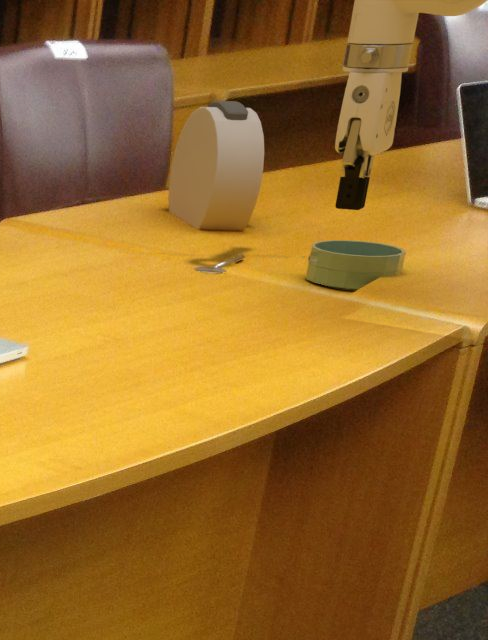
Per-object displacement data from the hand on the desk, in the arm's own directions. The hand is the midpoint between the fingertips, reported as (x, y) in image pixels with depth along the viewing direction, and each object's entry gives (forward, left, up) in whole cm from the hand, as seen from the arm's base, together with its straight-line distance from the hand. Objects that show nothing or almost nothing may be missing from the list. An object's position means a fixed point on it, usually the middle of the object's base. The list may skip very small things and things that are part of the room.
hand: (349, 208), depth 201 cm
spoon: (+19, -13, -12) cm, 26 cm away
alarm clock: (+33, -45, -12) cm, 57 cm away
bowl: (+1, -14, -12) cm, 18 cm away
